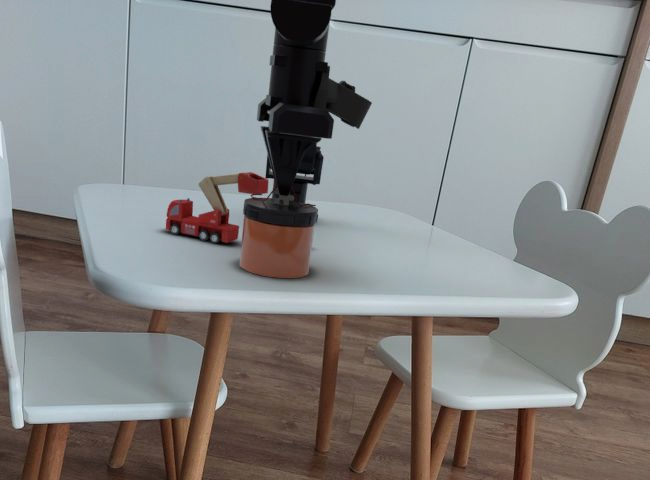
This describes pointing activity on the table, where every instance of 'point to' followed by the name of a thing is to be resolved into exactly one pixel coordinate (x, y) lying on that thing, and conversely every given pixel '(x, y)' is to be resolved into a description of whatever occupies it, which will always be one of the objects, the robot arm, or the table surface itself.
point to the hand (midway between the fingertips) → (282, 194)
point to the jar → (276, 249)
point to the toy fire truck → (217, 220)
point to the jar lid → (280, 212)
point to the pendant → (284, 198)
